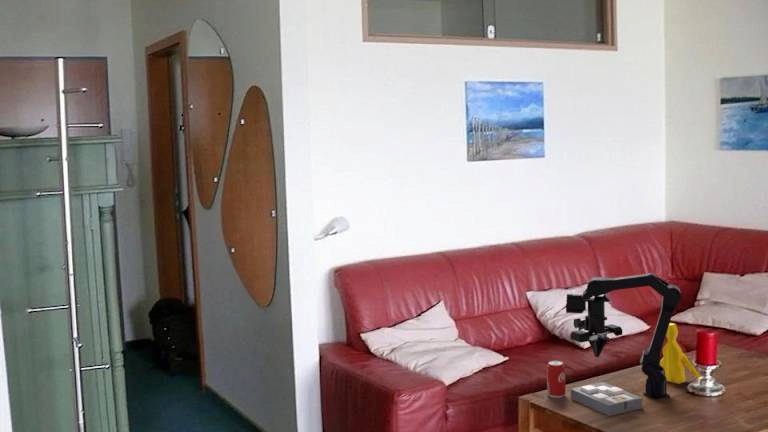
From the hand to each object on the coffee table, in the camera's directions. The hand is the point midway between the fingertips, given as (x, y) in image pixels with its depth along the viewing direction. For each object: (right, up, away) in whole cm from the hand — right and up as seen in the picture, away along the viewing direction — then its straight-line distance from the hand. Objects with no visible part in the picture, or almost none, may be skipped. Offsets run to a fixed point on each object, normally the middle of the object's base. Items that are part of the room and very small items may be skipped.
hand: (596, 357), depth 293 cm
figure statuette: (+31, -11, +10) cm, 34 cm away
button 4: (+4, -12, -9) cm, 15 cm away
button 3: (+1, -12, -4) cm, 13 cm away
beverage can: (-14, -14, 0) cm, 20 cm away
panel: (+1, -14, -9) cm, 17 cm away
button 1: (-4, -12, -6) cm, 14 cm away
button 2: (-2, -14, -12) cm, 18 cm away
